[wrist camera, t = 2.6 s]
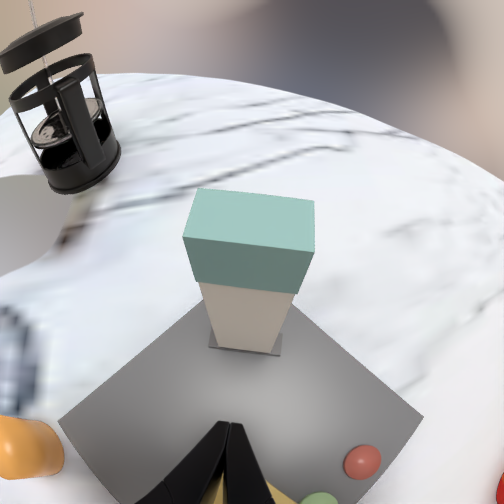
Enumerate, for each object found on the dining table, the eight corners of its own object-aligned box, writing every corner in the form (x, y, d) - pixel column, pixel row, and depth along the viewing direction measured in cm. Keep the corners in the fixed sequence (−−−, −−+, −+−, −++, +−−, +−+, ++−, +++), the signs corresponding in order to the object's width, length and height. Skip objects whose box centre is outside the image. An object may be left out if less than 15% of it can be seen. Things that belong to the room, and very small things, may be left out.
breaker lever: (270, 353, 16) (314, 252, 7) (217, 347, 16) (182, 236, 7) (273, 328, 17) (314, 200, 7) (222, 321, 17) (198, 187, 8)
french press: (39, 171, 27) (-24, 12, 7) (97, 129, 31) (59, -29, 11) (72, 217, 23) (-22, -8, 4) (145, 161, 27) (104, -58, 8)
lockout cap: (74, 460, 13) (32, 465, 8) (43, 482, 11) (1, 488, 7) (42, 410, 14) (-1, 401, 10) (14, 435, 12) (-28, 429, 8)
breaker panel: (417, 417, 15) (427, 416, 14) (235, 586, 8) (235, 595, 7) (245, 268, 21) (246, 259, 20) (63, 421, 14) (53, 420, 13)
